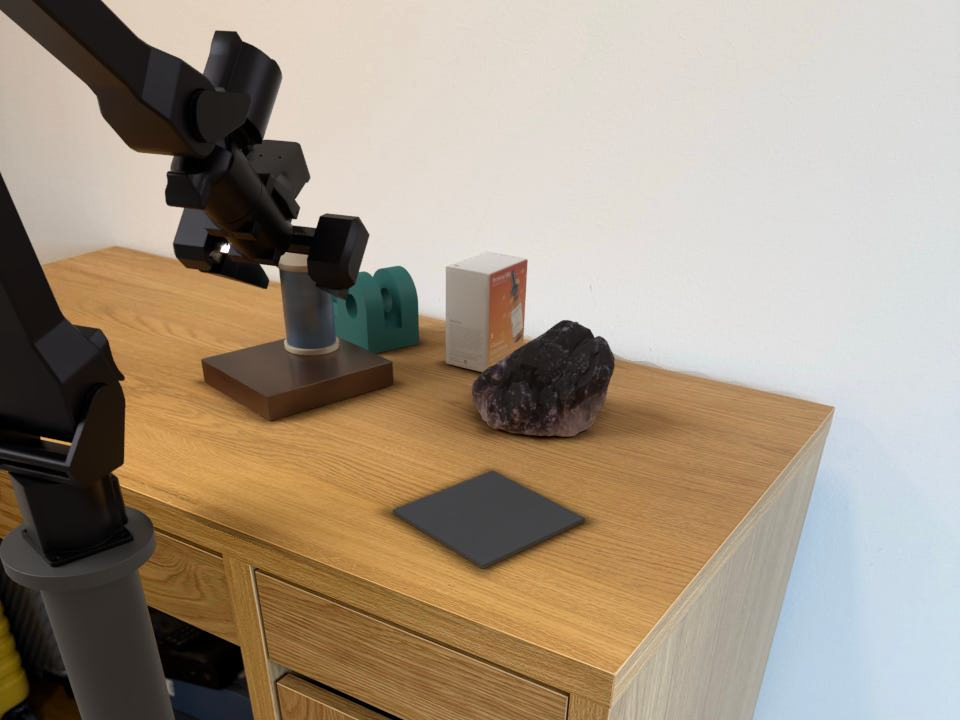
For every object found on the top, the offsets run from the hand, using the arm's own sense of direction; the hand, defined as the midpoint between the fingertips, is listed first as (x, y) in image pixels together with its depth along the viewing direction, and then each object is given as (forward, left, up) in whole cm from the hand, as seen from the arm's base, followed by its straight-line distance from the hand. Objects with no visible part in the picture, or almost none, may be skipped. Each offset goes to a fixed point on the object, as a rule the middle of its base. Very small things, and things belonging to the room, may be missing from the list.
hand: (305, 289), depth 94 cm
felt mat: (-7, -36, -8) cm, 38 cm away
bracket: (+12, +9, -9) cm, 17 cm away
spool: (0, 0, -6) cm, 6 cm away
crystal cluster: (+11, -24, -9) cm, 28 cm away
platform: (-3, -2, -8) cm, 9 cm away
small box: (+17, -9, -9) cm, 21 cm away
